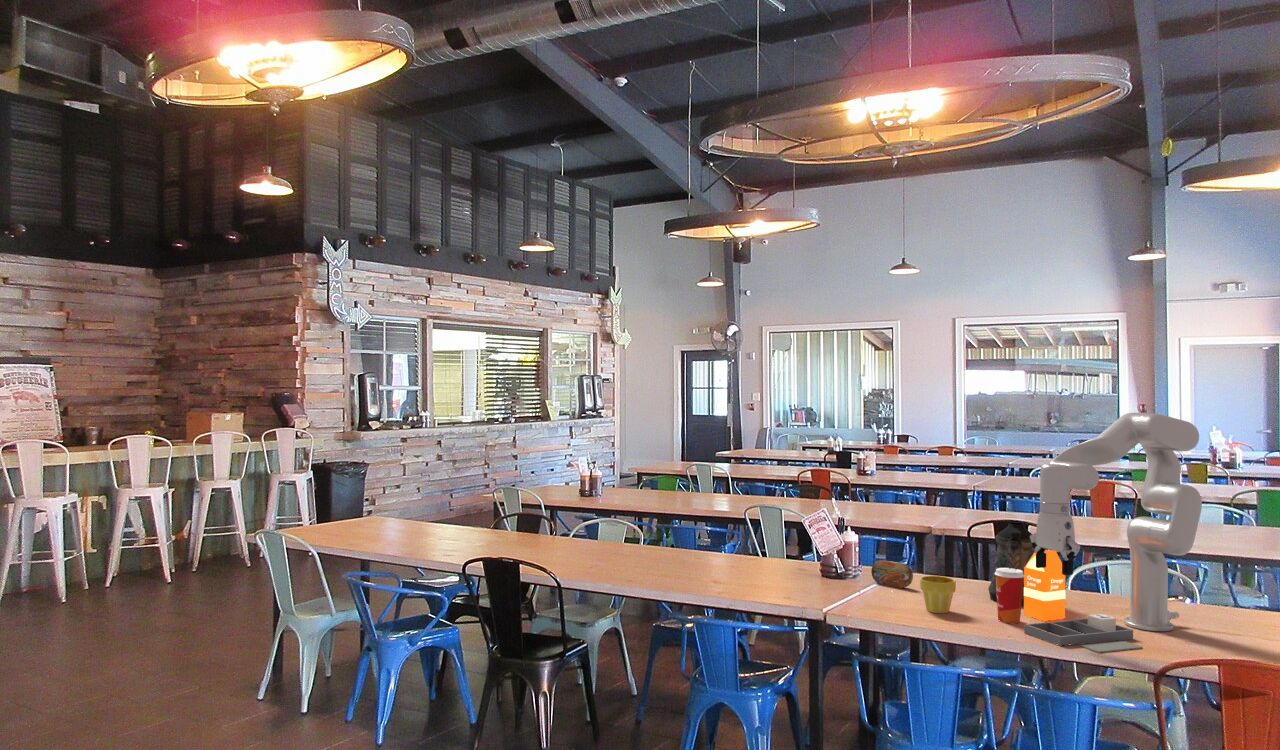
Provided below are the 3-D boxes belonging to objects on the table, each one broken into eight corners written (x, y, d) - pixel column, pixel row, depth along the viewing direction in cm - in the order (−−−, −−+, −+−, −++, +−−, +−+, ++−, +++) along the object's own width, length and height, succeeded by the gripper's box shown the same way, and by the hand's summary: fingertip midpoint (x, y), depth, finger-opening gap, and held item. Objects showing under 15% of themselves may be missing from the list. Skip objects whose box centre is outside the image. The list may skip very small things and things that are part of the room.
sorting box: (1094, 626, 263) (1095, 618, 263) (1133, 639, 251) (1133, 630, 251) (1024, 633, 255) (1024, 624, 255) (1060, 646, 243) (1060, 637, 243)
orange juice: (1023, 615, 275) (1024, 549, 276) (1044, 612, 279) (1044, 547, 279) (1044, 621, 268) (1045, 553, 268) (1065, 618, 272) (1066, 551, 272)
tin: (870, 582, 318) (871, 558, 318) (875, 581, 320) (876, 557, 320) (909, 590, 307) (909, 565, 307) (914, 589, 309) (914, 564, 309)
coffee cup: (999, 615, 274) (999, 566, 274) (1027, 620, 269) (1028, 570, 269) (989, 621, 268) (990, 570, 268) (1018, 626, 262) (1019, 574, 262)
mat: (1123, 642, 248) (1123, 640, 248) (1142, 648, 242) (1142, 646, 242) (1080, 646, 243) (1080, 645, 243) (1098, 653, 237) (1098, 651, 237)
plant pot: (925, 614, 274) (926, 582, 274) (915, 606, 284) (915, 575, 284) (960, 615, 274) (960, 583, 274) (948, 607, 284) (949, 575, 284)
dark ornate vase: (1029, 594, 303) (1030, 519, 303) (1057, 609, 283) (1058, 529, 283) (980, 594, 302) (981, 519, 302) (1005, 609, 283) (1006, 528, 283)
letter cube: (1101, 631, 259) (1101, 613, 259) (1115, 636, 254) (1115, 617, 254) (1087, 632, 257) (1087, 614, 257) (1101, 637, 252) (1101, 619, 252)
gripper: (1090, 512, 244) (1089, 576, 243) (1042, 504, 260) (1041, 564, 260) (1067, 513, 241) (1067, 578, 241) (1021, 505, 258) (1020, 565, 257)
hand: (1053, 571), depth 250 cm, fingers open, 9 cm apart
